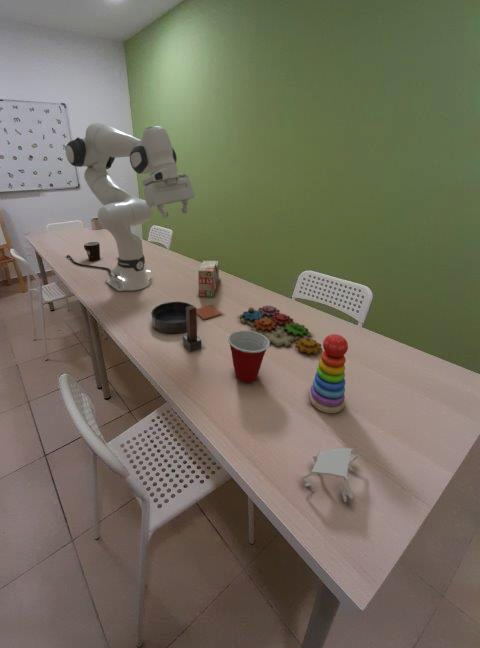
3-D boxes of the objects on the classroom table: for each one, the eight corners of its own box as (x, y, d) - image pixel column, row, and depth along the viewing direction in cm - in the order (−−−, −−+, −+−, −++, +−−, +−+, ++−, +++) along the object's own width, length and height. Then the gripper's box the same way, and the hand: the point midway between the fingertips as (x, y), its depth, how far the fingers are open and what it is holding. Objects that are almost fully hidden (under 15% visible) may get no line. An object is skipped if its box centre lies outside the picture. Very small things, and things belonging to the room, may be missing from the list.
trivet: (193, 311, 118) (193, 310, 117) (210, 306, 121) (210, 305, 121) (203, 320, 111) (203, 318, 111) (221, 314, 115) (221, 313, 114)
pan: (143, 324, 110) (142, 313, 108) (174, 307, 121) (173, 297, 119) (174, 339, 100) (174, 328, 98) (205, 320, 111) (205, 309, 109)
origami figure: (341, 520, 50) (347, 502, 48) (296, 482, 56) (299, 465, 54) (371, 474, 57) (377, 456, 55) (328, 444, 62) (332, 427, 61)
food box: (206, 278, 149) (206, 254, 144) (218, 278, 148) (219, 254, 143) (198, 296, 130) (198, 269, 125) (213, 297, 129) (213, 270, 124)
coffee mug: (103, 260, 180) (101, 244, 176) (89, 262, 176) (86, 246, 172) (98, 255, 189) (96, 239, 185) (84, 257, 185) (81, 242, 181)
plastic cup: (274, 375, 83) (278, 338, 78) (251, 395, 76) (254, 357, 71) (242, 358, 90) (244, 323, 85) (218, 375, 83) (219, 339, 78)
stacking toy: (348, 400, 73) (363, 335, 66) (337, 420, 68) (352, 352, 60) (315, 386, 78) (326, 324, 71) (303, 403, 73) (313, 338, 65)
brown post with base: (183, 343, 98) (181, 305, 92) (194, 340, 99) (192, 302, 94) (190, 351, 94) (189, 312, 88) (201, 347, 95) (200, 309, 90)
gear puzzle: (334, 350, 92) (337, 338, 91) (294, 365, 86) (295, 353, 85) (270, 308, 118) (271, 299, 116) (235, 317, 112) (235, 308, 110)
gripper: (181, 175, 113) (190, 212, 117) (137, 181, 101) (148, 222, 104) (192, 170, 109) (201, 209, 112) (148, 176, 96) (159, 219, 99)
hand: (175, 215), depth 108 cm, fingers open, 8 cm apart
